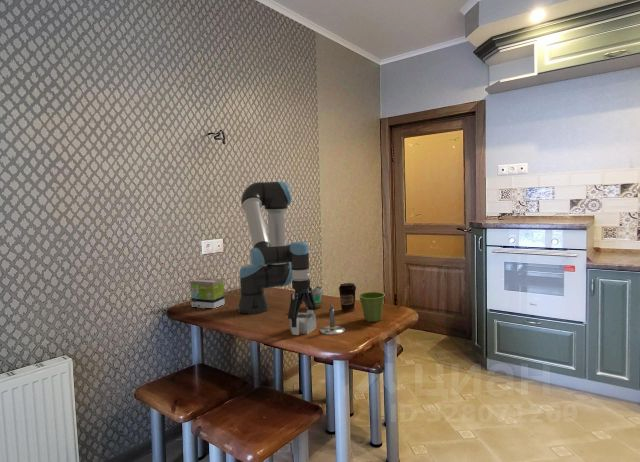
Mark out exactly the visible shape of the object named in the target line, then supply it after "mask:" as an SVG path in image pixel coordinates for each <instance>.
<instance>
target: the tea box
mask: <svg viewBox="0 0 640 462" xmlns="http://www.w3.org/2000/svg"><path fill="white" fill-rule="evenodd" d="M189 283H190V284H189V287H190V288H189V289H190V303H191V308H192V307H197V309H205V308H216V307H219V306H221V305H223V306H225V305H224V304H226V302H225V288H224V287H225V285H224V283H225V282H224V279H223V278H213V277H212V278H211V277H200V278H198V279H194V280H191V281H189ZM221 307H222V306H221ZM219 308H220V307H219ZM216 309H217V308H216Z"/></svg>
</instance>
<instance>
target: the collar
mask: <svg viewBox="0 0 640 462" xmlns="http://www.w3.org/2000/svg"><path fill="white" fill-rule="evenodd" d="M316 317H317V315H316V313H313V314H308V313H307V312H299V313H298V316H297V319H298V324H299V334H304V335H309V334H310V333H312V332H313V331H314V330H316V329H317V318H316ZM289 329H290V331H289V332H290V333H292V320H291V319H289Z"/></svg>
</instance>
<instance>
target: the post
mask: <svg viewBox="0 0 640 462" xmlns="http://www.w3.org/2000/svg"><path fill="white" fill-rule="evenodd" d="M329 307H330V308H329V309H328V311H329V312H328V314H329V325H327V326H324V327H321V328H320V330H319V331H320V333H321V334H323V335H326V336H327V335H328V336H329V335H330V336H331V335H332V336H333V335H335V336H337V335H339V334H343V333H344V332H345V330H346V329H345V327H344V326H341V325H335V308H333V307H334V306H333V303H330V305H329Z"/></svg>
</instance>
